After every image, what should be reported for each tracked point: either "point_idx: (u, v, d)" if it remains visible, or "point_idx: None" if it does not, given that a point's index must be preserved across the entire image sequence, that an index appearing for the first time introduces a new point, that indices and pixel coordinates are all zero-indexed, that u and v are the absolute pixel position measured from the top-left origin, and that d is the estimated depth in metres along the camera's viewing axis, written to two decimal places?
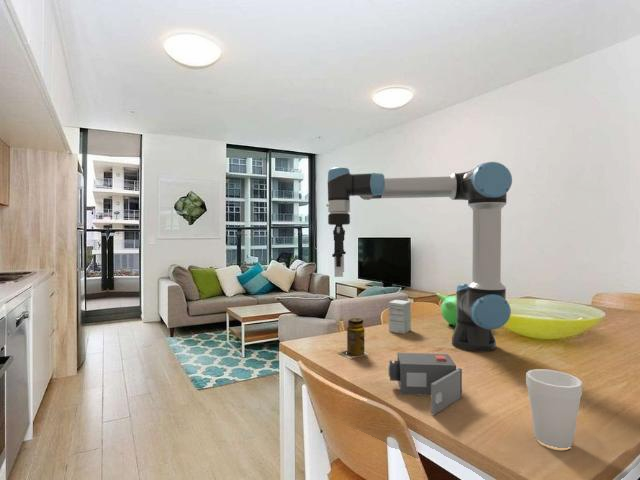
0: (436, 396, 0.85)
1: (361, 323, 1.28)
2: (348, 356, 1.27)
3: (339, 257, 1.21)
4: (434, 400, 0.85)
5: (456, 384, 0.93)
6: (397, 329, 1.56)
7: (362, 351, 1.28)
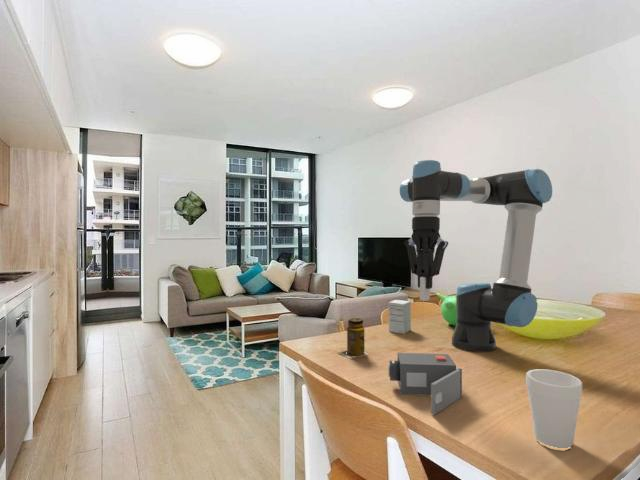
0: (436, 396, 0.85)
1: (361, 323, 1.28)
2: (348, 356, 1.27)
3: (432, 277, 1.04)
4: (434, 400, 0.85)
5: (456, 384, 0.93)
6: (397, 329, 1.56)
7: (362, 351, 1.28)
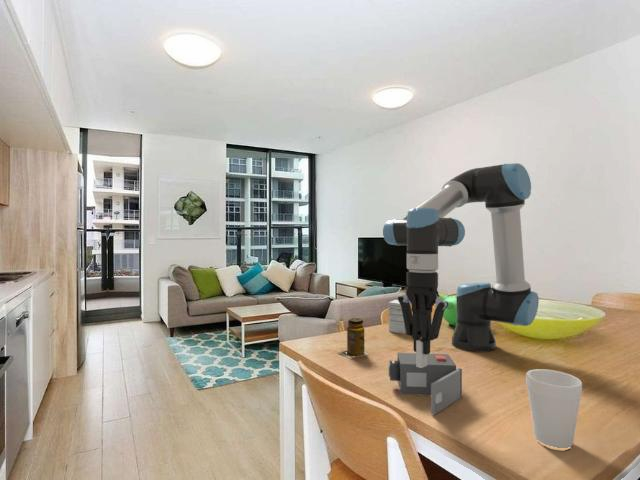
0: (436, 396, 0.85)
1: (361, 323, 1.28)
2: (348, 356, 1.27)
3: (429, 341, 0.91)
4: (434, 400, 0.85)
5: (456, 384, 0.93)
6: (397, 329, 1.56)
7: (362, 351, 1.28)
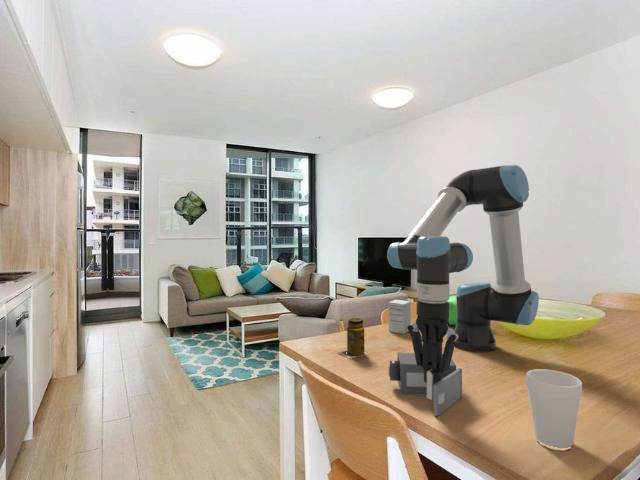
0: (439, 397, 0.85)
1: (361, 323, 1.28)
2: (348, 356, 1.27)
3: (440, 372, 0.89)
4: (437, 401, 0.85)
5: (457, 384, 0.93)
6: (397, 329, 1.56)
7: (362, 351, 1.28)
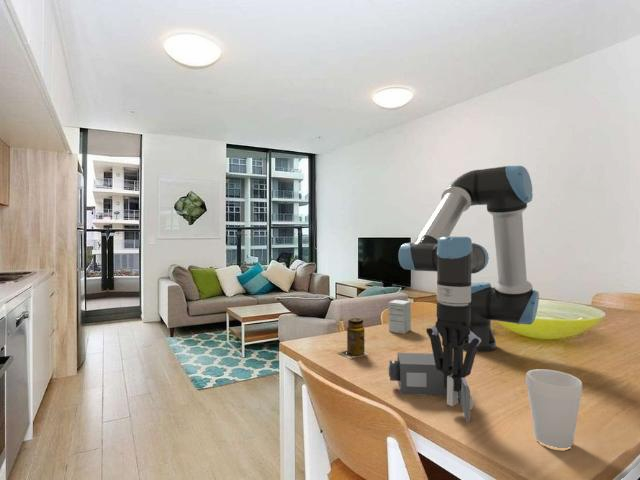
0: (471, 401, 0.82)
1: (361, 323, 1.28)
2: (348, 356, 1.27)
3: (461, 377, 0.86)
4: (469, 406, 0.82)
5: None
6: (397, 328, 1.56)
7: (362, 351, 1.28)
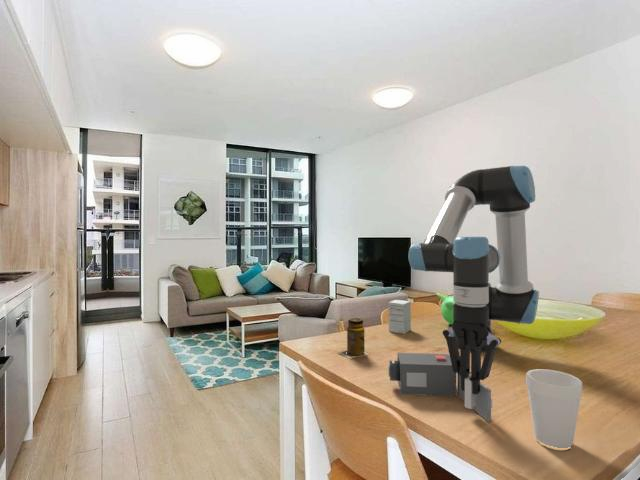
0: (491, 401, 0.83)
1: (361, 323, 1.28)
2: (348, 356, 1.27)
3: (479, 380, 0.84)
4: (490, 406, 0.82)
5: None
6: (397, 328, 1.56)
7: (362, 351, 1.28)
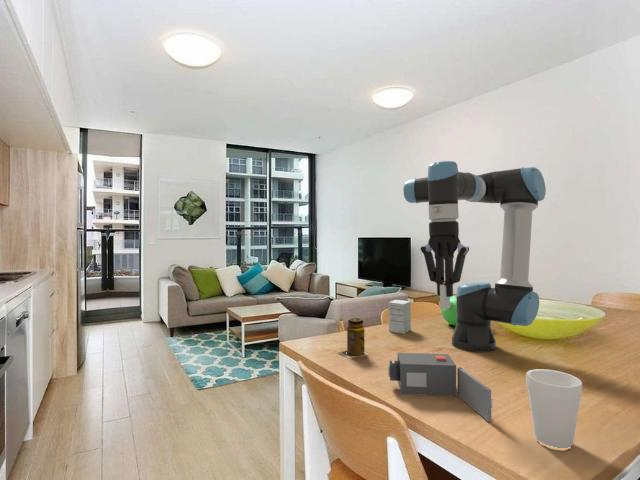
0: (491, 401, 0.83)
1: (361, 323, 1.28)
2: (348, 356, 1.27)
3: (452, 285, 0.99)
4: (490, 406, 0.82)
5: None
6: (397, 328, 1.56)
7: (362, 351, 1.28)
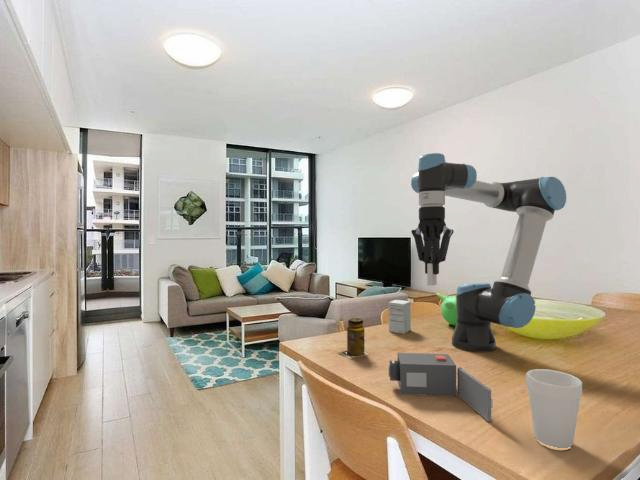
0: (491, 401, 0.83)
1: (361, 323, 1.28)
2: (348, 356, 1.27)
3: (438, 263, 1.10)
4: (490, 406, 0.82)
5: None
6: (397, 328, 1.56)
7: (362, 351, 1.28)
